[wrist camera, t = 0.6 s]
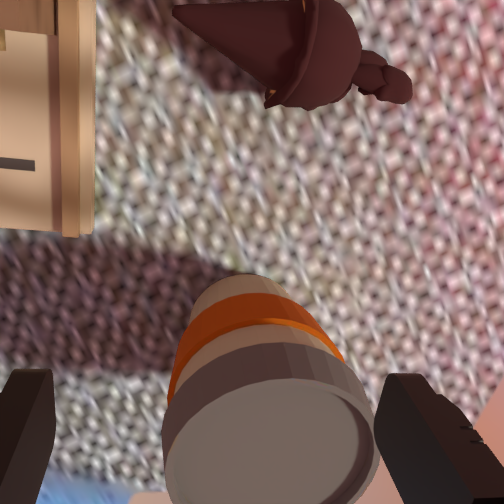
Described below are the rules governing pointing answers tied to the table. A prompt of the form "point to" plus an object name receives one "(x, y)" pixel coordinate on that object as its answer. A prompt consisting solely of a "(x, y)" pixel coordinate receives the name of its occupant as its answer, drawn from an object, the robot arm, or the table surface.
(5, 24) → the block
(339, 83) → the icecream
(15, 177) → the board
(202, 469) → the reusable coffee cup
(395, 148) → the table surface
